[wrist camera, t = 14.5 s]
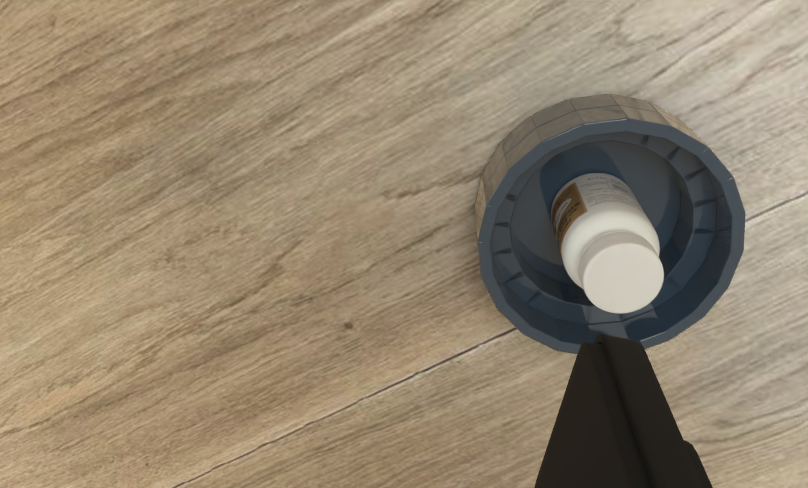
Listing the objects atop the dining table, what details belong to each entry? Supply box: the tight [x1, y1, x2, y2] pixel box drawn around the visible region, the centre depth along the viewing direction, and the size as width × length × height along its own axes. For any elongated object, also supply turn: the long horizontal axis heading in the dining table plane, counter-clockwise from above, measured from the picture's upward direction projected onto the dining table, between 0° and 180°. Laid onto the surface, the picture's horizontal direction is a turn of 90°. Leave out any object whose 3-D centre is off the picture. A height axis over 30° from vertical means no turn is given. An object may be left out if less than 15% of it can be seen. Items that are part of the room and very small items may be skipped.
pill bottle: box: [551, 173, 664, 313], centre depth 35 cm, size 4×4×8 cm
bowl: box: [475, 94, 745, 354], centre depth 37 cm, size 12×12×5 cm
